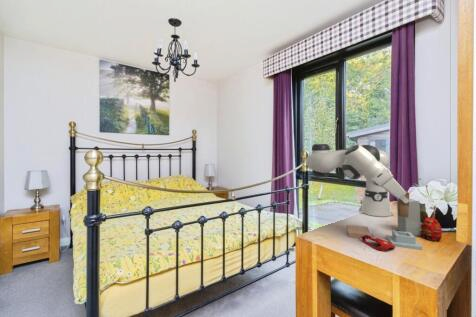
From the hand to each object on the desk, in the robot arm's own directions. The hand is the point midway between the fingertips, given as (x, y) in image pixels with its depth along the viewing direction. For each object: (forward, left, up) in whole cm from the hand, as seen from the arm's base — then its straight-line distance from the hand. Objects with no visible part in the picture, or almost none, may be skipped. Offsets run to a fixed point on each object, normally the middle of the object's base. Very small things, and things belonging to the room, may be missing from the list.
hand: (405, 201), depth 99 cm
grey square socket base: (0, 0, -18) cm, 18 cm away
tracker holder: (+6, -11, -18) cm, 22 cm away
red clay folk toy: (-11, +13, -18) cm, 25 cm away
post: (0, -1, -6) cm, 6 cm away
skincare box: (-16, +5, -18) cm, 25 cm away
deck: (-6, -16, -18) cm, 25 cm away
